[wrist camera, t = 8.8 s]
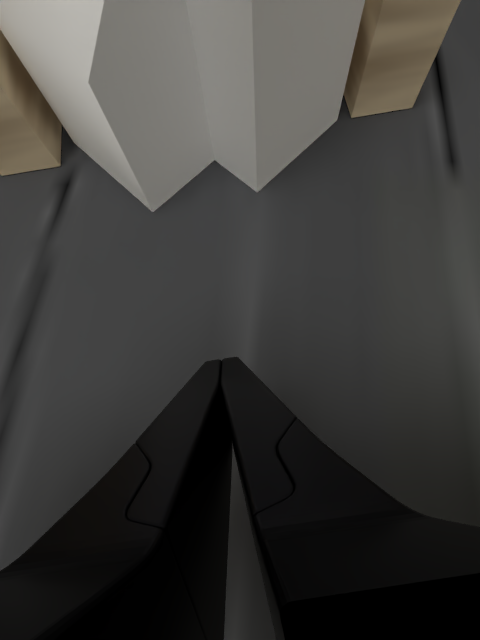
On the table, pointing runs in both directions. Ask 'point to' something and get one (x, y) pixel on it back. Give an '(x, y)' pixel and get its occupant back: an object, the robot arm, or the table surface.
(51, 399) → the table surface
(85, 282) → the table surface
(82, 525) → the robot arm
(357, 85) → the wooden rack
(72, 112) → the grey faceted lump
